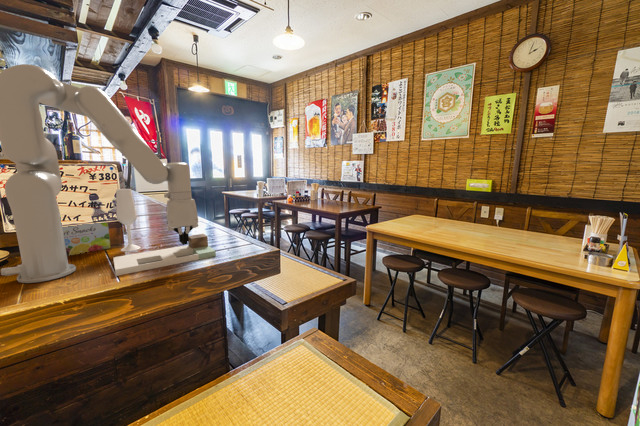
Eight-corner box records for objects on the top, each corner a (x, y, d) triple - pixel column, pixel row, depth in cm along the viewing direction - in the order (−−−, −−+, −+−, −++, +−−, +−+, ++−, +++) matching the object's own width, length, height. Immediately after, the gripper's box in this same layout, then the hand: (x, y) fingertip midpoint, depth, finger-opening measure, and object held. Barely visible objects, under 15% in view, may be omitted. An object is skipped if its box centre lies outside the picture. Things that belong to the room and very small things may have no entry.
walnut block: (191, 248, 102) (191, 238, 101) (188, 245, 106) (187, 235, 105) (208, 245, 106) (207, 236, 105) (204, 243, 109) (203, 233, 109)
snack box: (36, 262, 91) (28, 219, 89) (33, 259, 95) (25, 217, 92) (111, 248, 108) (106, 211, 105) (107, 245, 111) (102, 210, 109)
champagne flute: (120, 252, 103) (112, 190, 99) (121, 247, 108) (113, 189, 104) (140, 249, 107) (134, 189, 102) (140, 245, 112) (134, 188, 108)
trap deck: (115, 275, 81) (115, 269, 81) (113, 262, 92) (113, 257, 92) (215, 255, 100) (215, 250, 100) (204, 247, 111) (204, 242, 110)
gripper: (159, 198, 91) (164, 249, 95) (204, 195, 101) (207, 242, 104) (155, 196, 97) (160, 244, 100) (198, 194, 107) (201, 238, 110)
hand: (184, 243), depth 102 cm, fingers closed
